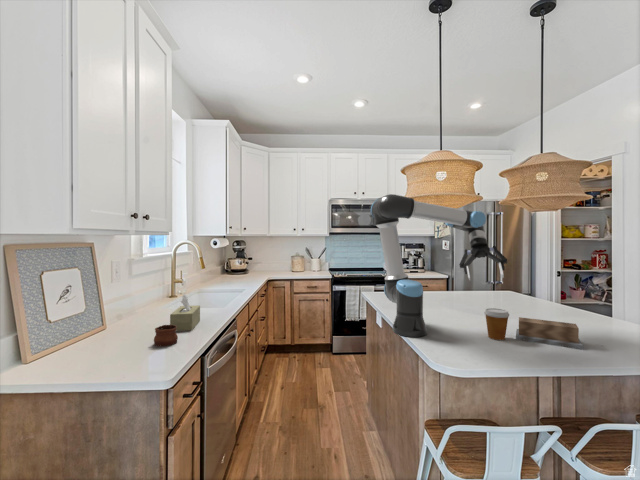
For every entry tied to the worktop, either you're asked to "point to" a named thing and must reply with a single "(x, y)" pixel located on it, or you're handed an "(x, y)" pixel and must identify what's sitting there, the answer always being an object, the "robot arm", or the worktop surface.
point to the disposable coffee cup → (496, 323)
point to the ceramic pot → (165, 335)
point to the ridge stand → (549, 332)
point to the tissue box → (185, 316)
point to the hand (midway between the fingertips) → (485, 277)
